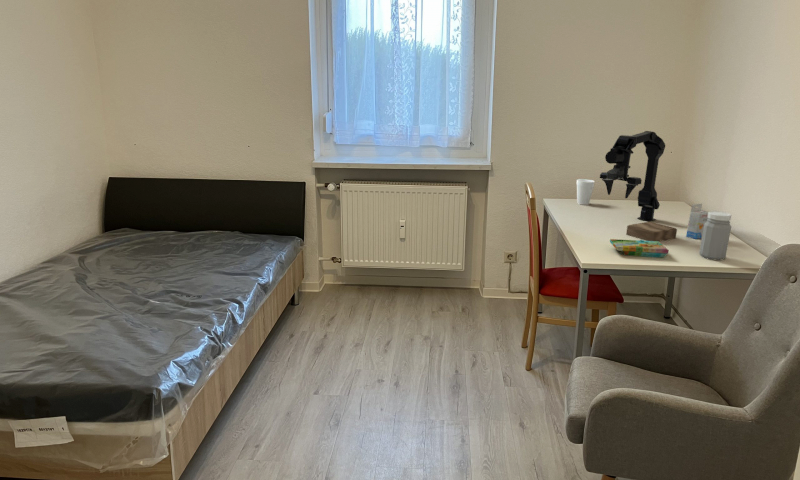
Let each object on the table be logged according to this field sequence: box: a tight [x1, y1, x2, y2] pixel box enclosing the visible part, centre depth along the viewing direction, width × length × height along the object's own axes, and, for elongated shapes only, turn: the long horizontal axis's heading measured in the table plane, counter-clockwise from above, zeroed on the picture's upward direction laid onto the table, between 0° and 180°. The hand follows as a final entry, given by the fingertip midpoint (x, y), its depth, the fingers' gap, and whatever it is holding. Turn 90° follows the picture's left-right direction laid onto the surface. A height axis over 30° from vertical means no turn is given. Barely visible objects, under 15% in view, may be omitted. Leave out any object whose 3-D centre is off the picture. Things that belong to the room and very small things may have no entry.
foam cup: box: [576, 178, 596, 206], centre depth 335 cm, size 10×9×13 cm
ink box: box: [685, 203, 710, 240], centre depth 273 cm, size 8×5×15 cm, turn 123°
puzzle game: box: [609, 238, 669, 258], centre depth 247 cm, size 12×5×20 cm
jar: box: [699, 211, 732, 261], centre depth 243 cm, size 10×10×18 cm
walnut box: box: [625, 221, 678, 242], centre depth 273 cm, size 16×14×5 cm
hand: (617, 196), depth 285 cm, fingers open, 9 cm apart
